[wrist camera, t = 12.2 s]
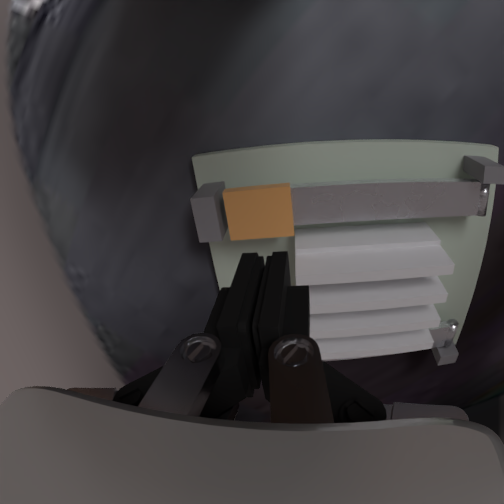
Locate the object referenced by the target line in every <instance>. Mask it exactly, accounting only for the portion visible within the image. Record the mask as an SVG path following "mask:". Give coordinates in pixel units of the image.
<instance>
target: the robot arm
mask: <svg viewBox="0 0 504 504" xmlns="http://www.w3.org/2000/svg"><path fill="white" fill-rule="evenodd" d="M261 379H262V385H263V389H264V393H265V398H266V399H267V400H268V401H269V402H270V407H271V423H262V422H246V421H234V419H235V417H236V414H237V412H238V409H239V402H240V401H242V400H243V399H245V398H246V397H253V393H254V389H259V388H260V384H261ZM0 504H504V445H503V443H502V442H501V440H500V438H499V437H498V436H497V435H496V434H495V433H494V432H493V431H492V430H491V429H489V428H487V427H485V426H483V425H480V424H477V423H474V422H470V421H469V419H468V416H467V415H466V413H465V412H464V411H463V410H462V409H460V408H458V407H454V406H443V405H424V404H409V403H398V402H394V404H393V405H385V404H383V403H382V402H381V401H379V400H378V399H377V398H376V397H374V396H373V395H371V394H370V393H368V392H367V391H366V390H364V389H363V388H361V387H360V386H358V385H357V384H355V383H354V382H352V381H351V380H350V379H348V378H347V377H345V376H344V375H342V374H341V373H340V372H338V371H337V370H335V369H334V368H332V367H331V366H330V365H328V364H327V363H325V362H324V361H323V360H322V359H321V354H320V349H319V346H318V344H317V342H316V341H315V340H313V339H312V338H311V337H310V297H309V285H301V286H291V280H290V268H289V256H288V251H278V252H273V253H272V256H267V258H266V263H264V257H263V256H259V255H258V253H257V252H255V253H242V255H241V258H240V261H239V264H238V266H237V269H236V272H235V275H234V278H233V281H232V283H231V286H230V287H223V288H221V290H220V292H219V294H218V297H217V299H216V302H215V305H214V307H213V310H212V312H211V315H210V317H209V320H208V323H207V325H206V328H205V330H204V333H196V334H192V335H190V336H187V337H186V338H184V339H183V340H181V342H180V343H179V344H178V345H177V346H176V348H175V350H174V351H173V353H172V354H171V356H170V357H169V359H168V360H167V362H166V363H165V365H164V366H163V367H161V368H159V369H157V370H155V371H153V372H151V373H149V374H147V375H145V376H143V377H141V378H139V379H137V380H135V381H133V382H131V383H129V384H127V385H125V386H124V387H122V388H121V389H120V390H119V391H117V390H116V388H69V389H67V390H65V389H62V388H55V387H45V386H33V387H25V388H21V389H18V390H15V391H14V392H12V393H11V394H10V395H9V396H8V397H7V398H6V399H5V400H4V402H3V403H2V404H1V405H0Z"/></svg>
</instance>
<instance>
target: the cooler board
mask: <svg viewBox="0 0 504 504" xmlns="http://www.w3.org/2000/svg"><path fill="white" fill-rule="evenodd" d="M498 149H499V148H498V147H496V146H494V145H489V144H479V143H467V142H453V141H435V140H400V139H371V140H335V141H316V142H300V143H287V144H276V145H265V146H256V147H247V148H238V149H230V150H222V151H215V152H208V153H201V154H196V155H194V156H193V157H192V162H193V167H194V172H195V177H196V182H197V188H198V190H197V192H196V193H195V194H194V195H193V196H192V197H191V198H190V202H191V206H192V211H193V215H194V220H195V224H196V229H197V233H198V237H199V242H200V243H203V242H209V245H210V249H211V254H212V258H213V263H214V267H215V272H216V276H217V280H218V285H219V289H220V290H221V288H223V287H230V286H231V283H232V281H233V278H234V275H235V272H236V269H237V266H238V264H239V261H240V258H241V255H242V253H255V252H257V253H258V255H259V256H263V257H264V263H266V258H267V256H272V253H273V252H278V251H288V256H289V268H290V280H291V286H301V285H309V297H310V337H311V338H312V339H313V340H315V341H316V342H317V344H318V346H319V349H320V354H321V359H322V360H328V359H343V358H355V357H367V356H377V355H386V354H395V353H403V352H411V351H418V350H425V349H432V352H433V354H434V357H435V360H436V363H437V365H438V366H439V365H444V364H449V363H454V362H455V361H456V359H457V357H458V355H459V353H458V351H457V349H456V347H455V344H456V343H457V340H458V337H459V335H460V332H461V329H462V327H463V324H464V321H465V318H466V315H467V312H468V309H469V306H470V303H471V300H472V296H473V293H474V290H475V286H476V283H477V279H478V275H479V272H480V268H481V264H482V260H483V255H484V251H485V246H486V242H487V237H488V232H489V226H490V221H491V215H492V208H493V202H494V194H495V186H496V184H504V166H502V165H500V164H498ZM412 178H462V179H477V180H479V181H480V182H482V183H483V184H490V189H489V198H488V205H487V212H486V216H483V217H482V216H452V217H429V218H408V219H389V220H371V221H354V222H338V223H323V224H308V225H294V236H288V237H274V238H260V239H247V240H233V241H231V238H230V233H229V227H228V222H227V216H226V211H225V205H224V199H223V194H222V193H223V191H224V189H228V188H237V187H246V186H257V185H267V184H279V183H290V184H301V183H315V182H331V181H350V180H373V179H412ZM449 319H455V320H457V321H458V323H459V325H458V328H457V330H456V333H455V336H454V339H453V341H452V344H451V346H449V347H444V346H442V347H436V348H432V346H433V343H434V341H433V339H432V336H431V334H430V331H429V329H428V328H435V327H439V324H440V322H443V321H447V320H449Z"/></svg>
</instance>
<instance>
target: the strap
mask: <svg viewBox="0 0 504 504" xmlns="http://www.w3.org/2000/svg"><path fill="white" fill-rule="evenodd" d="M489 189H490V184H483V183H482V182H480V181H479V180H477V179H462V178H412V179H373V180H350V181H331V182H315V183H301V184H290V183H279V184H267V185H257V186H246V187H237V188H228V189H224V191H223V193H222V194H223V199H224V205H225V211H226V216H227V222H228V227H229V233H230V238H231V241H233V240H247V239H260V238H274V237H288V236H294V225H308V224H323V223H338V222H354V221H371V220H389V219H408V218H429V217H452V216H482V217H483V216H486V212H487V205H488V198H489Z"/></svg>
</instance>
